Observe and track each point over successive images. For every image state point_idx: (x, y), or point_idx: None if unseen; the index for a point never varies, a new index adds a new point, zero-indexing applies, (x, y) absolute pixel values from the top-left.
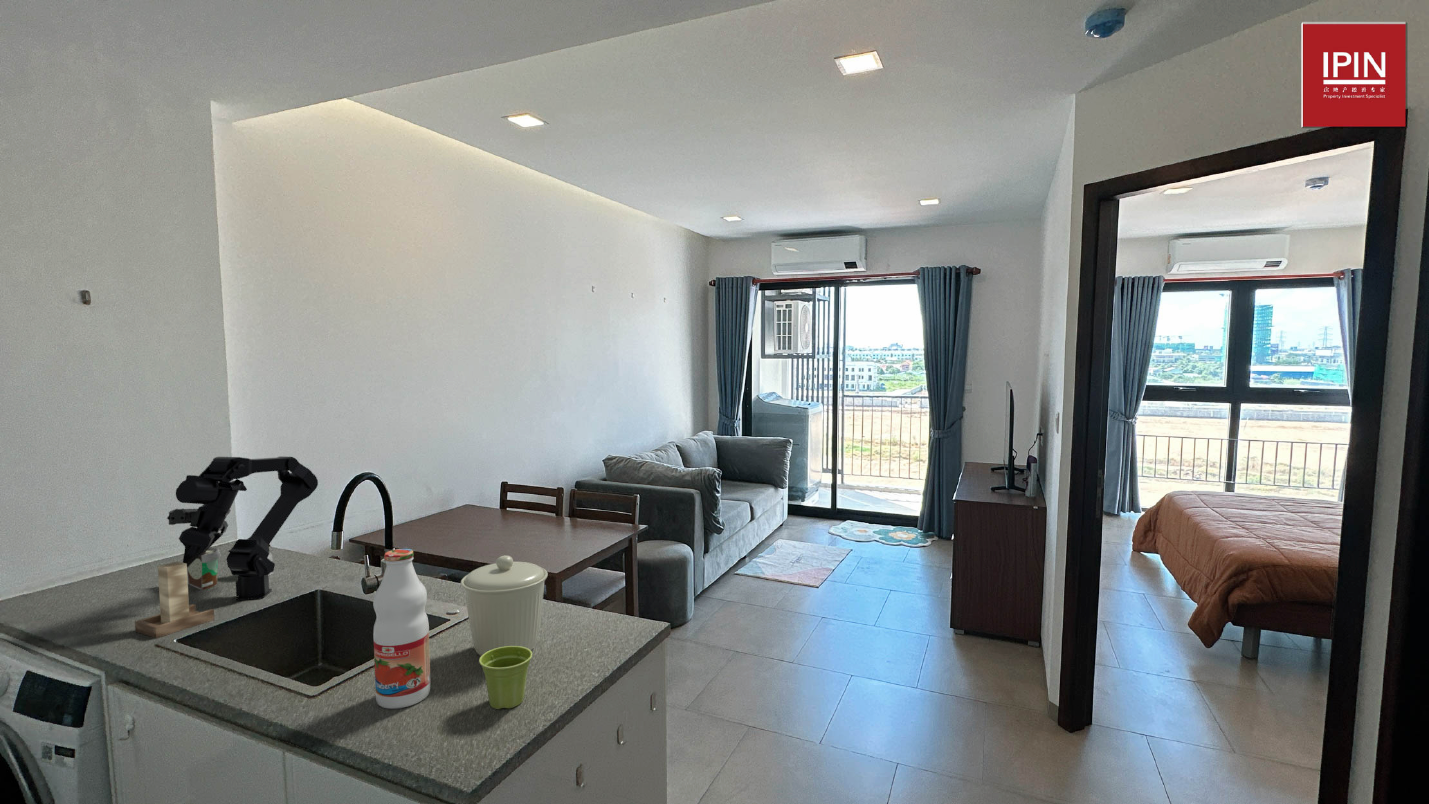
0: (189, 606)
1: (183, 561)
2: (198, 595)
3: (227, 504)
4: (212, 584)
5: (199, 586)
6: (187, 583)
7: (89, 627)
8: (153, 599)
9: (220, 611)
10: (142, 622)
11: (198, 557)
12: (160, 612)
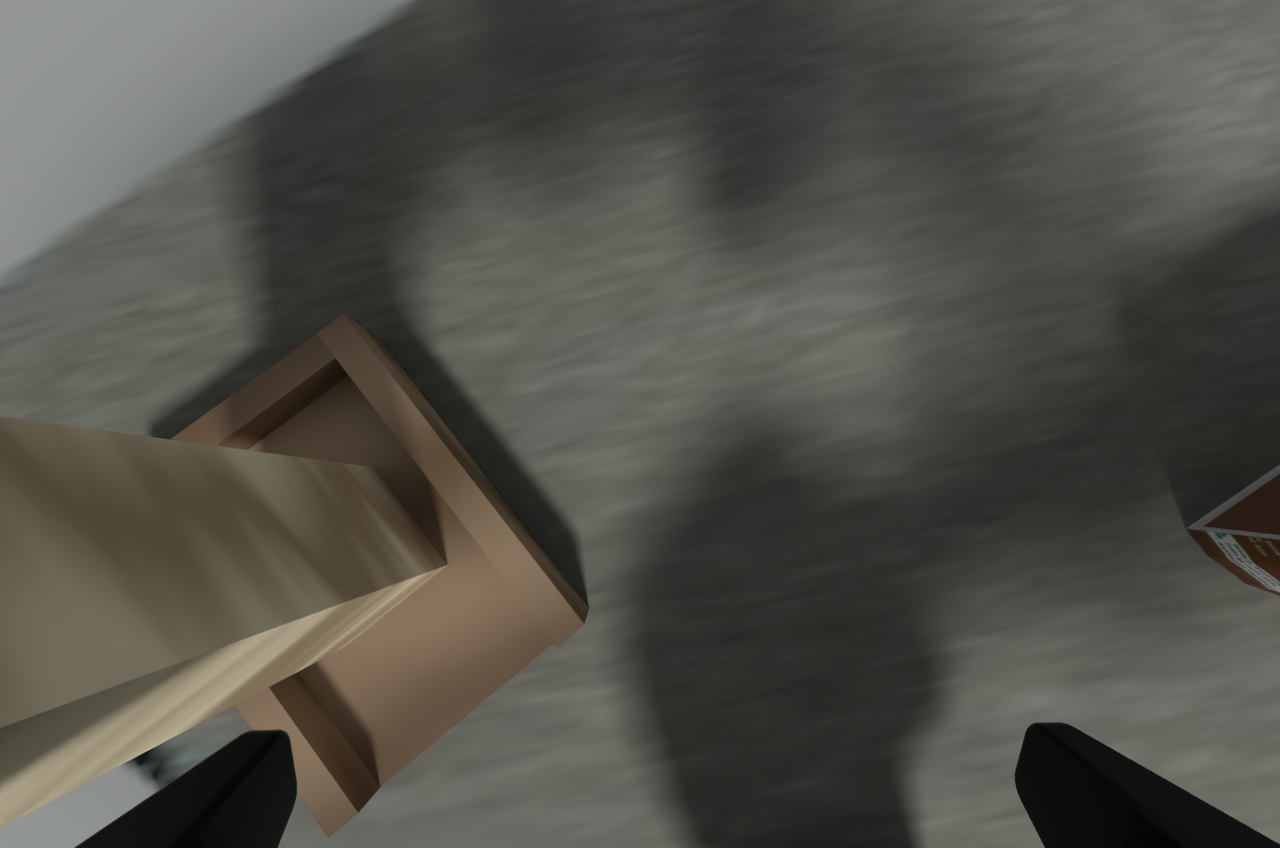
0: (531, 612)
1: (100, 840)
2: (1051, 535)
3: None
4: (1269, 589)
5: (1246, 503)
6: (77, 784)
7: (618, 59)
8: (1072, 259)
9: (556, 793)
10: (285, 371)
11: (1037, 821)
12: (331, 462)
